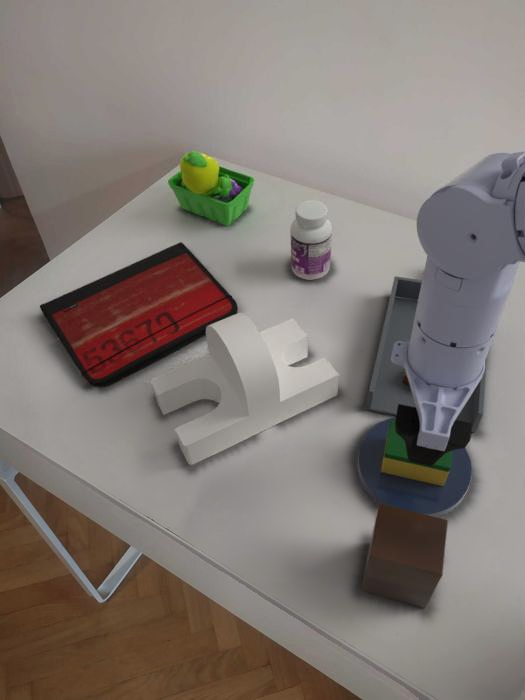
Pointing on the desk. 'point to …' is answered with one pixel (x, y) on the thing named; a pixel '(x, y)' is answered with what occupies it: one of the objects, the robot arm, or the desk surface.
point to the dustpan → (389, 376)
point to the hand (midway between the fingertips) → (425, 424)
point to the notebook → (138, 314)
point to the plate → (408, 490)
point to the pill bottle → (311, 240)
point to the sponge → (401, 466)
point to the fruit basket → (211, 188)
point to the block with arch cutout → (244, 384)
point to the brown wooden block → (405, 555)
